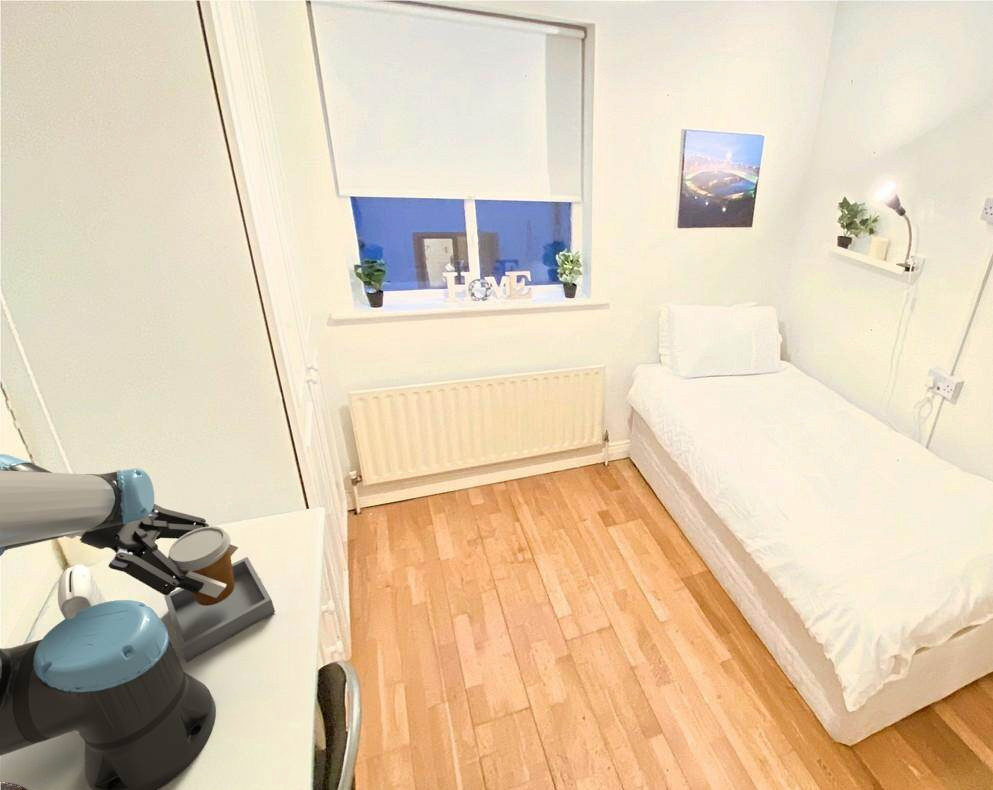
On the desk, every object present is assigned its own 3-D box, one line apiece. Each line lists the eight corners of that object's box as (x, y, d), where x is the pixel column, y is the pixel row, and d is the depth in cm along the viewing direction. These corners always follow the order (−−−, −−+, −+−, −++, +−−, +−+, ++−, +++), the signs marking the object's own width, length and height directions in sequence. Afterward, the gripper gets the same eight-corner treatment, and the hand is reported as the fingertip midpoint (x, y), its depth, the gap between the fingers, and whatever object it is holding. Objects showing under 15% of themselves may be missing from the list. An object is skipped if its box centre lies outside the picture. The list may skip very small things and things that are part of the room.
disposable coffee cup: (201, 574, 88) (182, 526, 83) (252, 569, 89) (237, 522, 84) (175, 616, 80) (153, 566, 75) (232, 611, 81) (214, 561, 76)
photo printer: (81, 615, 86) (54, 566, 80) (110, 603, 88) (85, 555, 83) (81, 654, 78) (50, 603, 73) (112, 640, 81) (85, 590, 76)
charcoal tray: (275, 612, 86) (271, 599, 84) (186, 662, 77) (180, 648, 75) (251, 569, 95) (247, 556, 94) (169, 609, 87) (164, 596, 85)
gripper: (113, 493, 83) (230, 542, 94) (40, 586, 64) (198, 634, 74) (136, 464, 82) (252, 517, 93) (69, 550, 63) (225, 604, 73)
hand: (228, 569), depth 83 cm, fingers closed on disposable coffee cup, 9 cm apart
